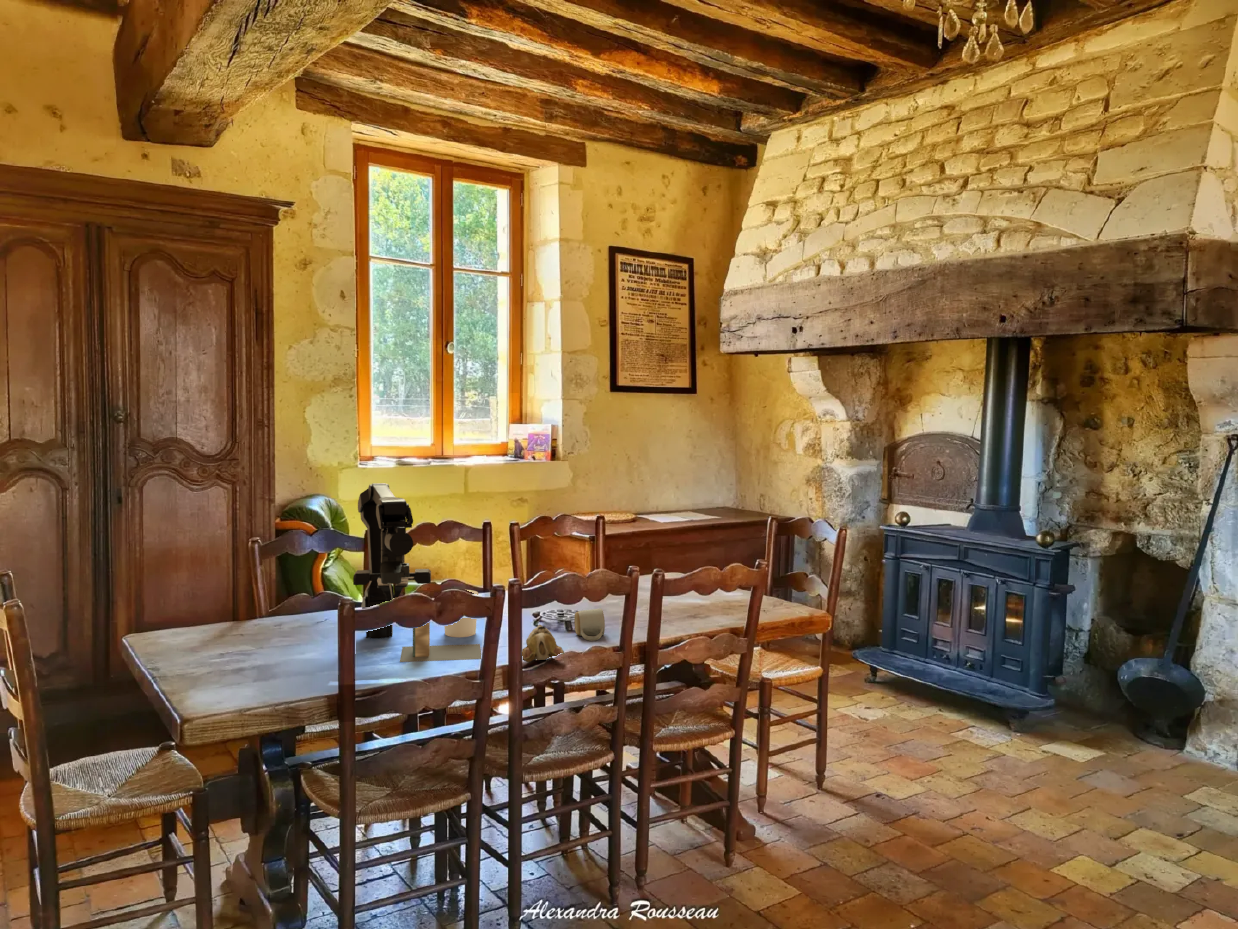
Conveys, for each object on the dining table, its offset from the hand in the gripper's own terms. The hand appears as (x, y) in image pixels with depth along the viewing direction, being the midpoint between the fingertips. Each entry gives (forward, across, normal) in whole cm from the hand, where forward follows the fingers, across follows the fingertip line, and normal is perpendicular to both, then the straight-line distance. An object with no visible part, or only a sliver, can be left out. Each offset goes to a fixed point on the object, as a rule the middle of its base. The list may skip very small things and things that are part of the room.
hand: (393, 610), depth 226 cm
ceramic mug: (+12, +53, +14) cm, 56 cm away
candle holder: (+12, +17, +19) cm, 28 cm away
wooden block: (+11, +7, 0) cm, 13 cm away
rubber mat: (+12, +12, 0) cm, 17 cm away
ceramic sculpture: (+12, +37, -6) cm, 40 cm away
